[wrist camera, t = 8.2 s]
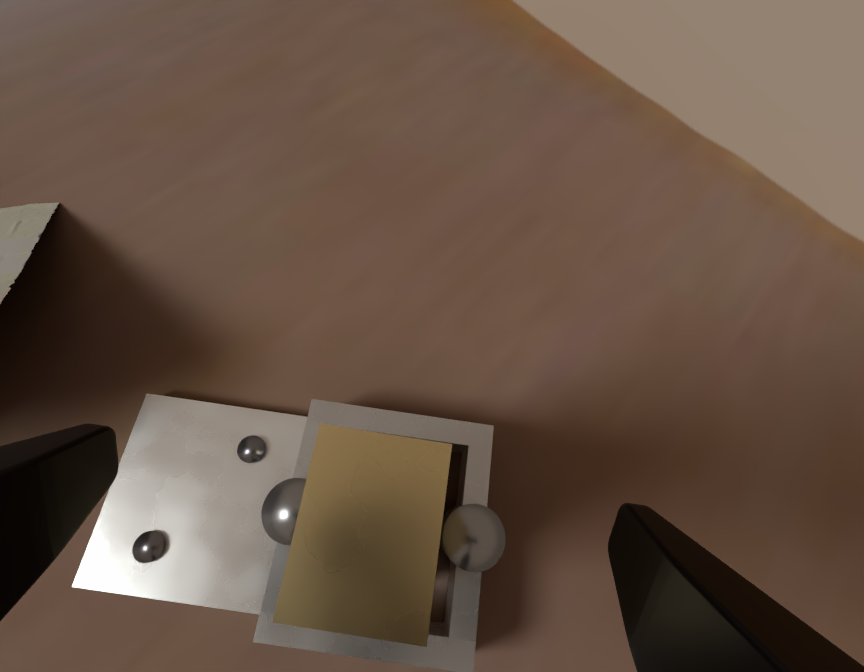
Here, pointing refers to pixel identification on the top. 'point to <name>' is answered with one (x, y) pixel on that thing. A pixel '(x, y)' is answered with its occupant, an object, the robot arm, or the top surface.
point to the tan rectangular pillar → (367, 536)
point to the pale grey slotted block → (19, 238)
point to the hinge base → (271, 518)
